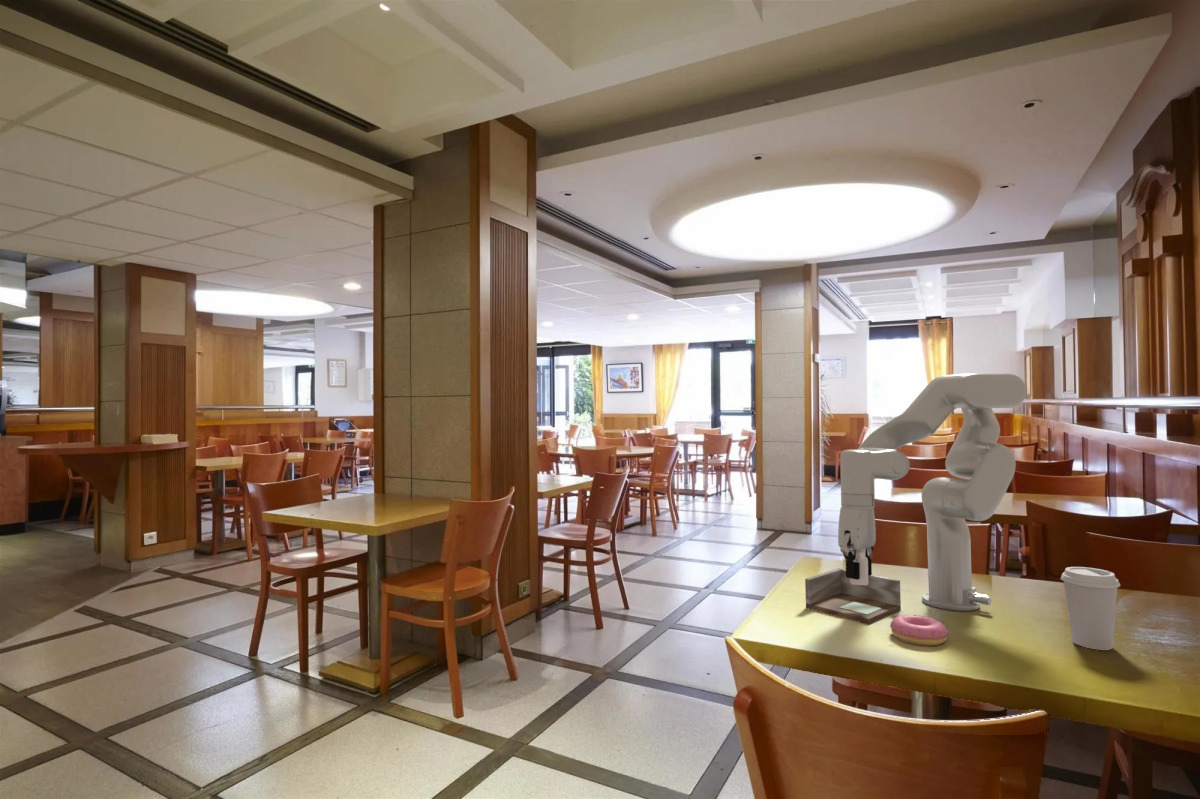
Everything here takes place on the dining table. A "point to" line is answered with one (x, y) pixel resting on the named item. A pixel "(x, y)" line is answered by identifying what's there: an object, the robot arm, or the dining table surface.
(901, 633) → the doughnut
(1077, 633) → the coffee cup
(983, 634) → the dining table surface
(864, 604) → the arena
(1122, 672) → the dining table surface
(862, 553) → the salt shaker
